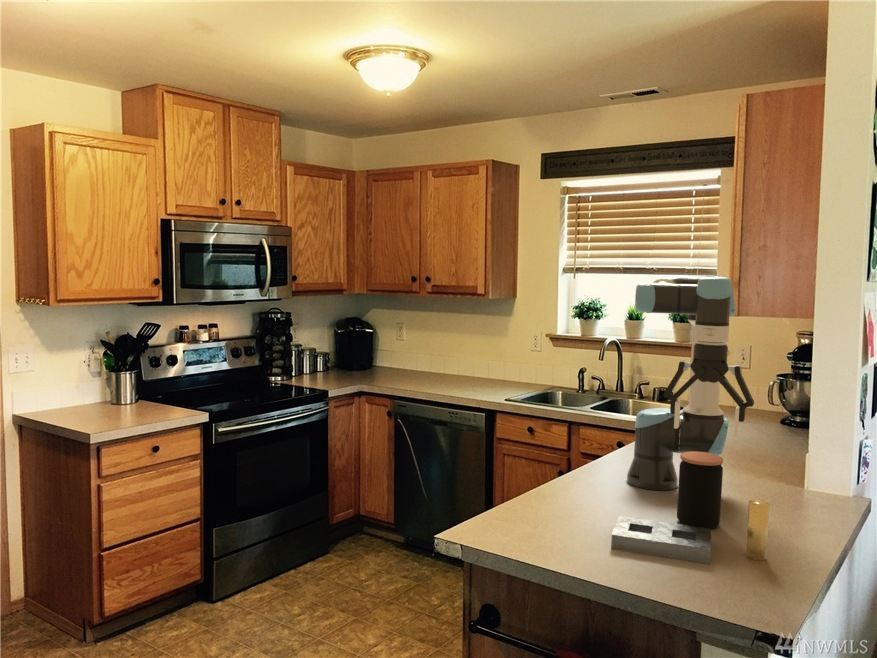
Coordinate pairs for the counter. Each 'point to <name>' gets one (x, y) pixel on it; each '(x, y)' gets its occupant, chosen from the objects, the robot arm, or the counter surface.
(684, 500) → the coffee jar
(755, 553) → the yellow translucent cylinder
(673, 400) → the robot arm
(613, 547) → the block
